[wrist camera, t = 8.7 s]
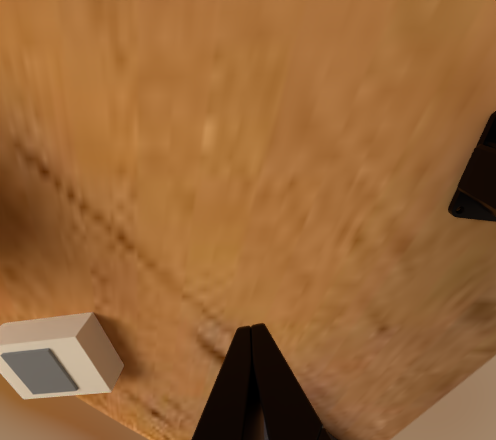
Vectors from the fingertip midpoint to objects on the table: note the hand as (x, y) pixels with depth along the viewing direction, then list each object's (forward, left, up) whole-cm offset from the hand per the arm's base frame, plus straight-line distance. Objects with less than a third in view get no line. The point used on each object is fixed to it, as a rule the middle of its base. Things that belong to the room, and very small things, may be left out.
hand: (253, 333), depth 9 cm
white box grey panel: (+12, +16, -10) cm, 23 cm away
